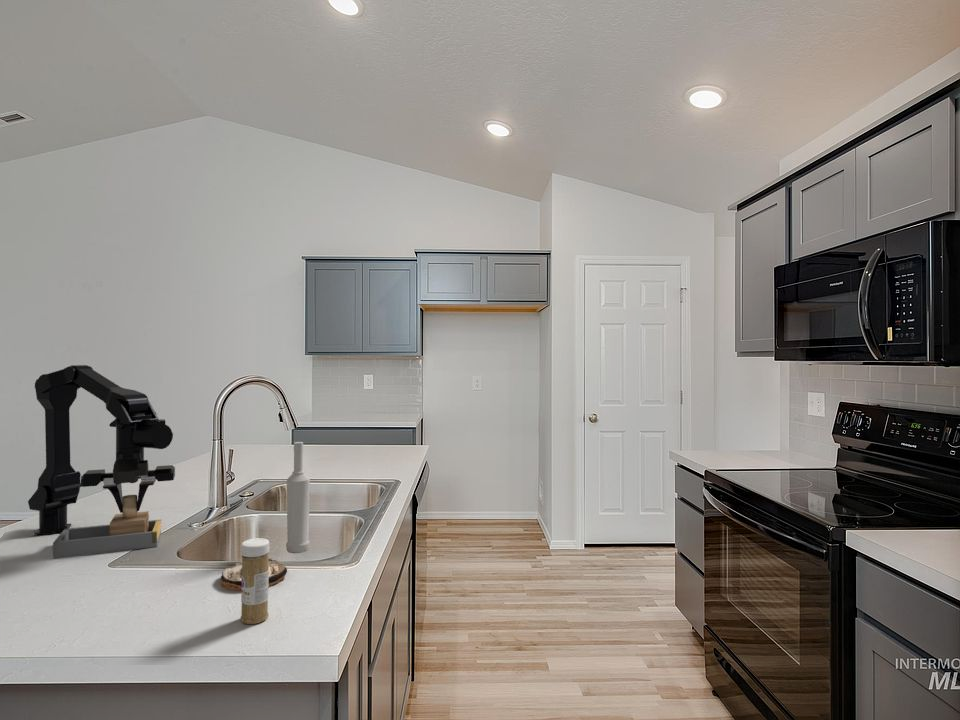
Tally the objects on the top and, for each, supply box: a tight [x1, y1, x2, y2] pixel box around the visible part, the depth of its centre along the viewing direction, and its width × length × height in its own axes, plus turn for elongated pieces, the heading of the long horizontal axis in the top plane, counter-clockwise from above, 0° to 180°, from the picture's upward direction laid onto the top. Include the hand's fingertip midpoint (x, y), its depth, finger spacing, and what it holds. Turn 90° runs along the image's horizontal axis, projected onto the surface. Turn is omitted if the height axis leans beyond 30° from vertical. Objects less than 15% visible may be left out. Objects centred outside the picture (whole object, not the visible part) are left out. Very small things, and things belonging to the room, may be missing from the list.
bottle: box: [285, 441, 311, 554], centre depth 134 cm, size 5×5×25 cm
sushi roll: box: [220, 557, 288, 591], centre depth 117 cm, size 15×15×4 cm
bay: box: [52, 519, 162, 559], centre depth 136 cm, size 11×20×4 cm, turn 114°
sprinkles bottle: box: [240, 537, 270, 625], centre depth 99 cm, size 5×5×14 cm
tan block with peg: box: [109, 494, 150, 536], centre depth 138 cm, size 8×7×10 cm
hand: (129, 511), depth 138 cm, fingers closed on tan block with peg, 3 cm apart
